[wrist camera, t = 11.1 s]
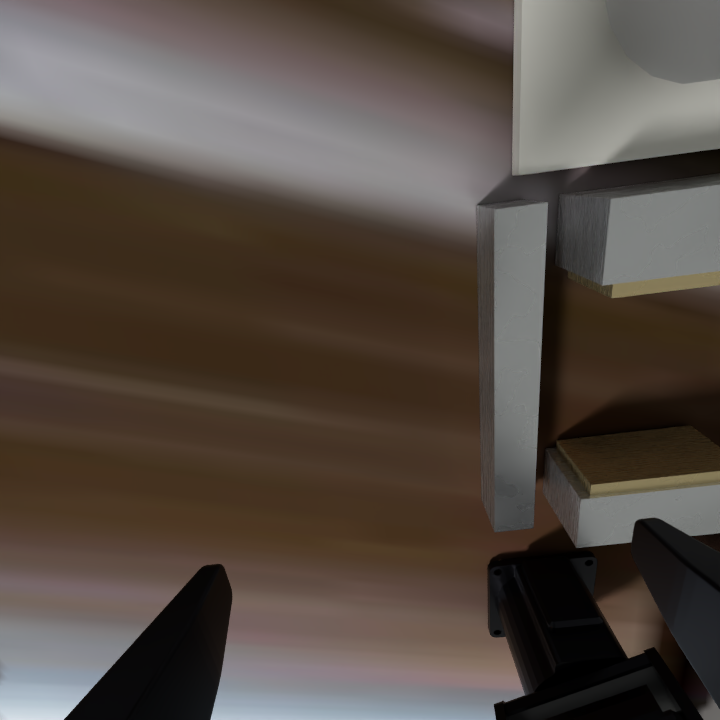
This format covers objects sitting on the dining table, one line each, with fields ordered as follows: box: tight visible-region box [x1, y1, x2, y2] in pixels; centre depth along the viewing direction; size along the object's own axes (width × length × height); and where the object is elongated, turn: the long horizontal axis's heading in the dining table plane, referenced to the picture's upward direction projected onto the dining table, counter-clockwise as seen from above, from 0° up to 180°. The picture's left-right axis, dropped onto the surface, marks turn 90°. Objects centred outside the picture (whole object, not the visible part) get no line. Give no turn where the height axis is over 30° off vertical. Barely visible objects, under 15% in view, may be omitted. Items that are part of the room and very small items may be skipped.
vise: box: [477, 173, 720, 548], centre depth 19 cm, size 16×12×4 cm
